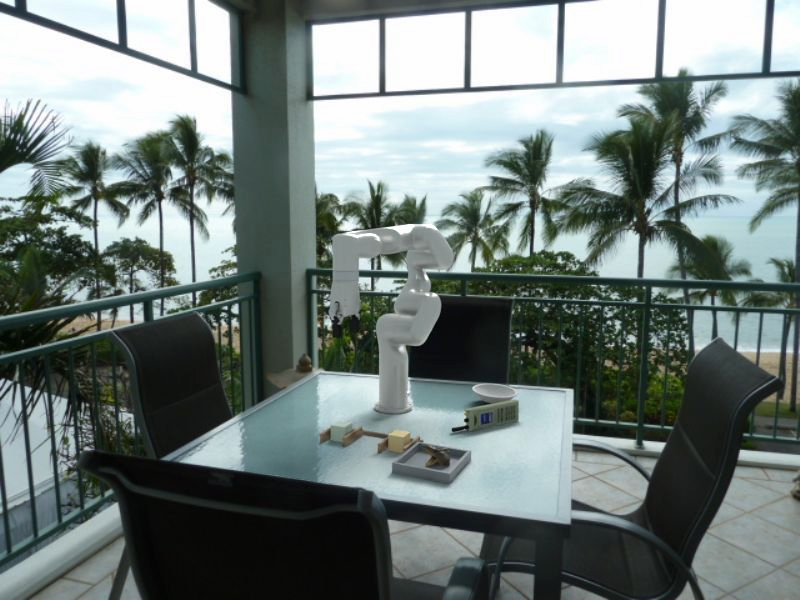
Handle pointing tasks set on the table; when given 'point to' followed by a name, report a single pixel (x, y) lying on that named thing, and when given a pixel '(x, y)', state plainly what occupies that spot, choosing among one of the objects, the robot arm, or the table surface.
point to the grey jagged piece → (437, 455)
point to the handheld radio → (490, 415)
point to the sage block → (340, 430)
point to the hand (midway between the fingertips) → (346, 335)
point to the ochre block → (398, 440)
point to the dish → (494, 392)
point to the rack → (359, 432)
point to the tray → (416, 466)
